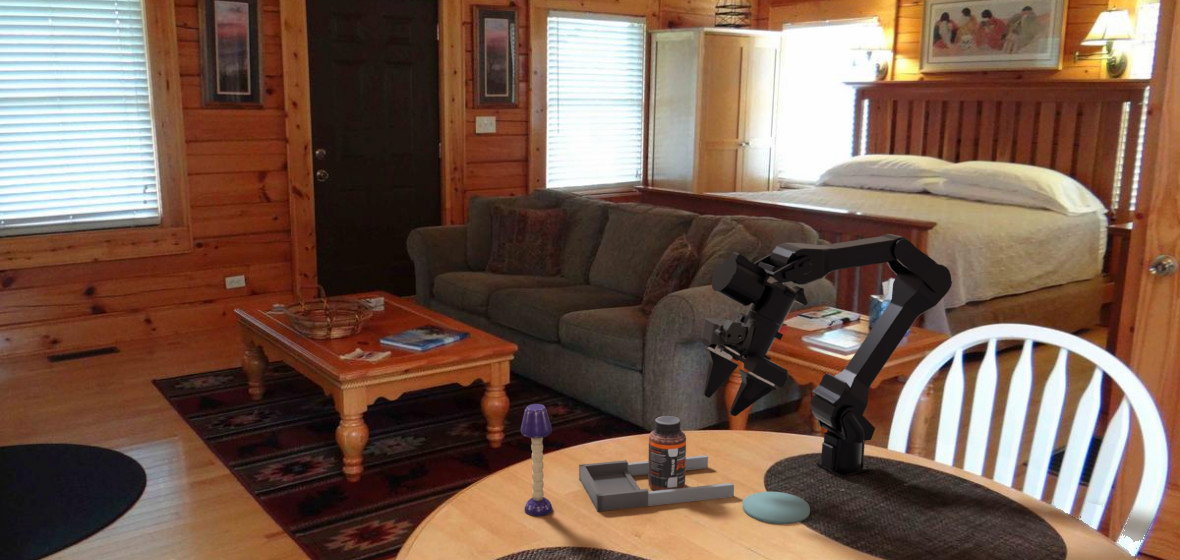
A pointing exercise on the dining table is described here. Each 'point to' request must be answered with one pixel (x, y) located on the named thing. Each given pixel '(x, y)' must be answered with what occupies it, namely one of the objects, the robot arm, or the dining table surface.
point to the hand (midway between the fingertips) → (718, 405)
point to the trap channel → (620, 491)
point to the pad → (776, 507)
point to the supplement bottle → (667, 455)
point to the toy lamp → (537, 456)
